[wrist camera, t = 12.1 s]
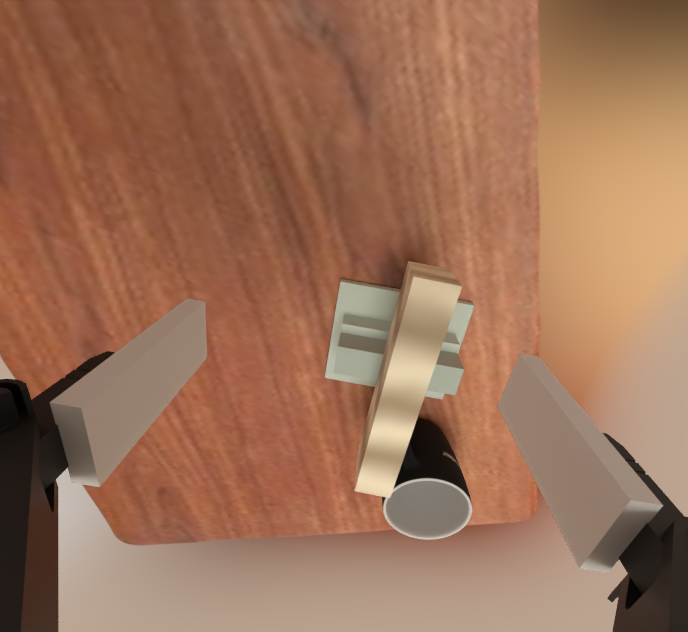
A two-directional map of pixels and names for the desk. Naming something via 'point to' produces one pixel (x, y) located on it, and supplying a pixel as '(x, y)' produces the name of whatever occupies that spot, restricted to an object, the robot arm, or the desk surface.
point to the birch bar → (405, 374)
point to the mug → (428, 488)
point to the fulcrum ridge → (385, 338)
